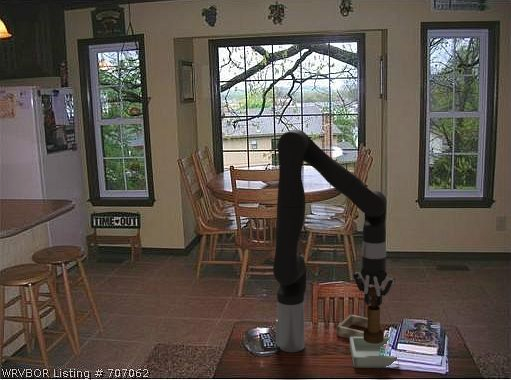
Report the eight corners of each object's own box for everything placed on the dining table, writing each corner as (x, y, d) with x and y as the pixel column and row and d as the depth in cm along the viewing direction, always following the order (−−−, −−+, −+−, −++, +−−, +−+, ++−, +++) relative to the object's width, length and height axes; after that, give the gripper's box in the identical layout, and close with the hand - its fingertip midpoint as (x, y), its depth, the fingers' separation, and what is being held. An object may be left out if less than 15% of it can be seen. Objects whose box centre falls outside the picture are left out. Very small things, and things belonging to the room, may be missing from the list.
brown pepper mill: (385, 343, 170) (385, 291, 166) (365, 344, 170) (365, 291, 167) (381, 334, 176) (381, 283, 173) (361, 334, 176) (361, 284, 173)
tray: (353, 367, 168) (353, 357, 167) (349, 346, 182) (349, 336, 181) (398, 368, 167) (398, 357, 166) (390, 346, 181) (391, 337, 180)
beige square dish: (337, 335, 190) (337, 326, 189) (350, 322, 200) (350, 314, 199) (366, 342, 184) (366, 333, 183) (377, 329, 194) (378, 320, 193)
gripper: (348, 254, 168) (348, 304, 172) (391, 260, 161) (390, 313, 164) (357, 247, 174) (357, 296, 178) (399, 253, 167) (398, 304, 170)
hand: (373, 304), depth 171 cm, fingers closed on brown pepper mill, 2 cm apart
